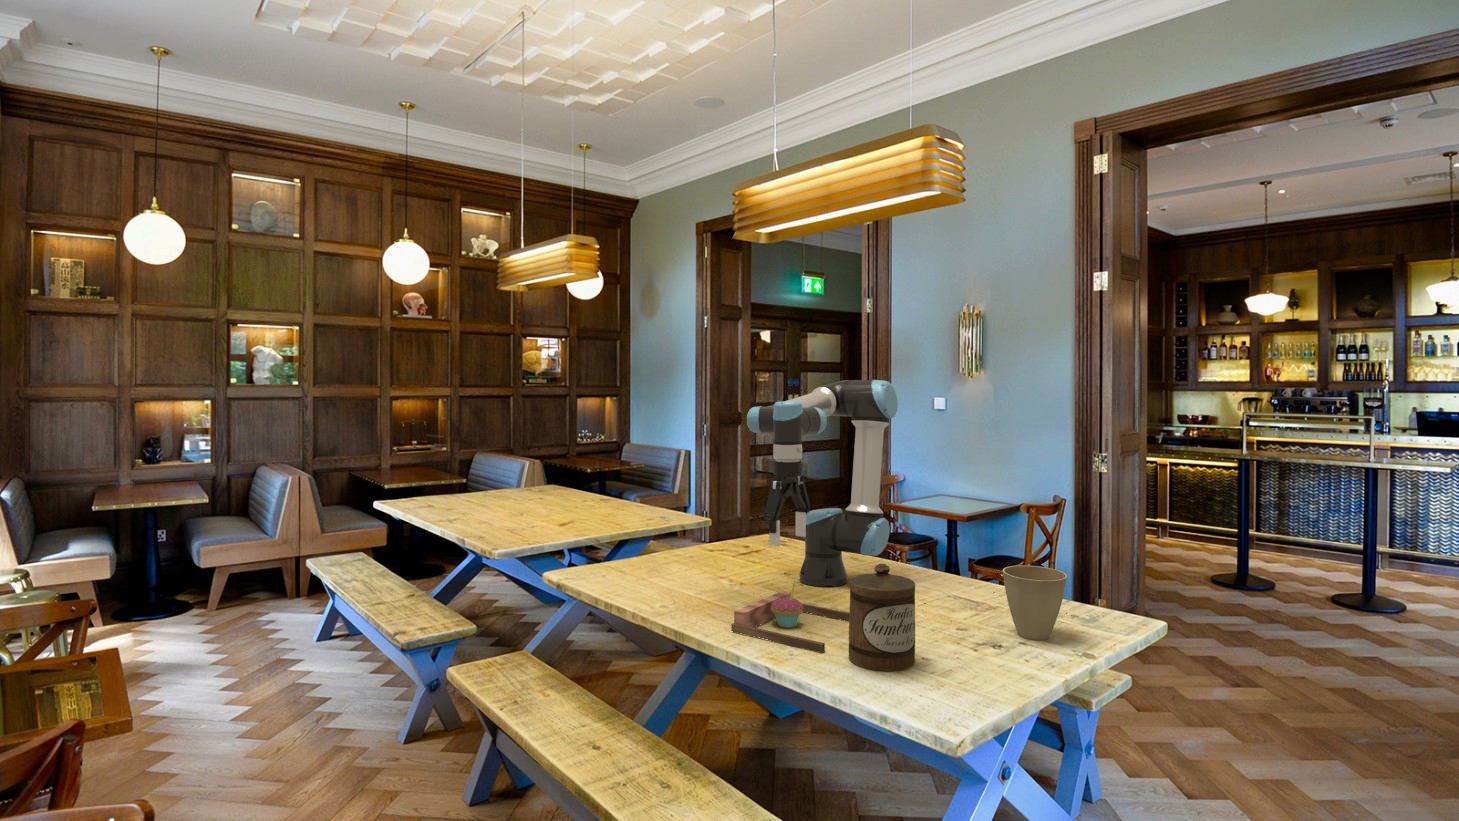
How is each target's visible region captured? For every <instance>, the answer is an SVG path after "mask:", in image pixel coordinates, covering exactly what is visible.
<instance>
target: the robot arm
mask: <svg viewBox="0 0 1459 821" xmlns="http://www.w3.org/2000/svg"><path fill="white" fill-rule="evenodd" d="M898 403H899V402H898V396H897V393H896V390H895V388H894V386H893V385H892V384H891V382H889V381H887V380H881V379H880V380H879V379H855V380H854V379H853V380H852V379H850V380H849V379H846V380H845V379H844V380H839V381H835V382H831V383H829V384H825V385H822V386H818V387H816V388H814V389H813V391H811V392H810V393H808V394H807V393H806V394H805V395H801V396H797V397H794V398H791V399H788V400H785V401H776V402H775V403H774V404H772V405H768V406H762V405H759V406H753V407H751V408H750V409H749V411H748V412H747V415H746V426H747V428H748V430H749V431H750V432H752V433H756V434H760V435H762V434H773V453H772V454H773V455H772V456H773V457H772V459H774V461H773V475H774V476H777V480H771V481H770V482H769V483H770V485H769V492H768V496H767V501H766V504H765V509H764V512H763V519H764V520H766V521H768V534H769V535H768V539H769V540H768V545H769V546H773V547H774V546H775V547H780V545H781V544H780V543H781V539H780V536H781V528H780V527H781V526H780V525H781V524H780V523H781V521H780V519H779V517H780V514H781V512H782V510H783V508H784V504H785V502H786V500H787V499H788V498H789V497H790V498H791V500H792V502H793V505H794V506H795V508H796V511H795V537H802V538H804V541H805V542H804V547H805V548H804V550H805V551H804V553H805V554H804V560H803V563H802V565H801V569H800V571H799V582H800V581H801V582H800V583H802V582H803V583H802V584H804V583H805V584H804V585H807V584H810V585H809V586H811V585H814V586H813V587H818V586H834V587H839V586H838V585H841V586H844V585H846V584H847V583H848V575H847V574H848V573H847V571H846V567H845V564H844V561H843V556H842V555H843V554H842V553H850V554H854V555H856V554H857V555H861V556H872V557H873V556H879V555H880V554H882V552H884V550H885V548H886V547H887V545H888V542H889V538H890V532H891V531H890V530H891V528H890V523H889V521H888V519H886V518H885V517H884V511H883V510H882V508H880V493H881V492H880V491H881V478H882V476H881V475H882V461H883V446H884V445H883V444H884V430H885V429H886V427H888V426H889V425H890V419H893V418H894V417H896V415H897V412H898V406H899V405H898ZM829 416H830V417H831V416H832V417H833V416H835V417H848V418H850V417H851V420H850V421H851V423H852V424H853V426H854V427H855V433H854V434H855V435H854V436H855V437H854V451H853V462H852V463H853V466H852V482H851V495H850V503H849V505H848V506H847V507H846V508H845V512H843V510H842V508H839V507H829V508H828V507H827V508H820V509H813V510H810V508H811V503H810V498H809V495H808V492H807V491H808V490H807V487H806V481H805V480H806V479H805V476H804V475H802V474H803V462H802V458H803V437H804V436H815V435H819V434H821V433H822V432H823V431H825V429H826V428H827V423H828V420H827V419H828V418H827V417H829ZM778 519H779V520H778ZM845 583H846V584H845ZM843 584H844V585H843Z"/></svg>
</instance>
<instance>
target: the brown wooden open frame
mask: <svg viewBox="0 0 1459 821" xmlns="http://www.w3.org/2000/svg"><path fill="white" fill-rule="evenodd" d="M790 595H791V591H788V590H781V591H779V592H777V593H775V594H772V595H770V596H769V595H768V596H767V597H765V598H763V599H760V600H757V601H755V602H753V603H750V604H748V605H746V606H743V607H741V608H739V609H736V610H734V611H733V623H731V624H730V626H731V627H730V628H731V630H730V631H733V632H732V633H734V632H738V633H742V634H746V635H745V636H747V635H750V636H749V637H751V636H755V637H760V638H764V639H768V640H771V641H770V642H773V641H774V642H773V643H777V642H778V643H777V644H781V645H786V646H791V647H794V646H795V647H794V648H798V647H799V648H798V649H804V650H807V651H812V652H816V653H821V654H824V653H826V649H825V648H826V644H825V642H822V641H816V640H812V639H807V638H803V637H799V636H794V635H790V634H785V633H781V632H776V631H773V630H768V629H763V628H759V627H760V626H761V625H760V624H762V625H764V624H766V623H768V622H770V621H772V620H774V618H775V619H776V616H775V614H774V613H772V612H771V604H772V602H773V601H775V600H776V599H778V598H785V597H786V598H788V597H790ZM801 604H802V605H803V606H804V608H803V612H802V613H804V612H808V613H807V614H809V613H812V614H811V615H814V614H816V615H815V616H819V615H820V616H819V617H824V616H826V617H825V618H829V617H831V618H830V619H834V618H836V620H839V619H841V620H840V621H844V620H845V621H844V622H849V614H850V612H848V611H843V610H837V609H832V608H827V607H822V606H817V605H811V604H806V603H802V602H801ZM769 620H770V621H769ZM767 621H768V622H767ZM765 622H766V623H765ZM763 623H764V624H763ZM759 625H760V626H759ZM756 626H757V627H756ZM738 633H737V634H738ZM742 634H741V635H742ZM755 637H754V638H755ZM760 638H759V639H760ZM764 639H763V640H764ZM768 640H767V641H768Z"/></svg>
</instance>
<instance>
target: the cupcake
mask: <svg viewBox="0 0 1459 821" xmlns="http://www.w3.org/2000/svg"><path fill="white" fill-rule="evenodd" d="M795 582H796V580H794V581H793V582H792V586H791V589H790V592H791V595H790V597H788V598H786V597H785V598H778V599H776V600H775V601H773V602H772V604H771V612H772V613H774V614H775V616H776V618H775V619H776V622H777V625H778V627H781V628H785V629H786V628H787V629H788V628H790V627H791V628H794V627H796V626H797V623H798V621H799V617H800V616H801V615H802V613H804V612H803V608H804V606H803V605H802V604H803V603H802V602H801V601H799V600H798V599H797V598H794V592H795V585H796V583H795ZM801 603H802V604H801Z"/></svg>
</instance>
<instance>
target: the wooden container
mask: <svg viewBox="0 0 1459 821" xmlns="http://www.w3.org/2000/svg"><path fill="white" fill-rule="evenodd" d="M890 570H891V569H890V566H889V565H887V564H886V563H878V564H877V565H876V564H875V566H874V572H875V573H874V572H873V573H862V574H858V575H854V576H853V577H851V578H850V580H849V613H850V614H849V621H848V659H849V661H850V662H851V663H853V664H854V665H856V666H858V667H861V668H863V669H865V670H866V669H867V670H872V671H877V672H895V671H897V672H898V671H904V670H907V669H909V668H911V667H912V666H914V665H915V661H916V660H915V659H916V658H915V657H916V583H915V580H913V579H911V578H910V577H909V578H908V577H906V576H902V575H898V574H890Z"/></svg>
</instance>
